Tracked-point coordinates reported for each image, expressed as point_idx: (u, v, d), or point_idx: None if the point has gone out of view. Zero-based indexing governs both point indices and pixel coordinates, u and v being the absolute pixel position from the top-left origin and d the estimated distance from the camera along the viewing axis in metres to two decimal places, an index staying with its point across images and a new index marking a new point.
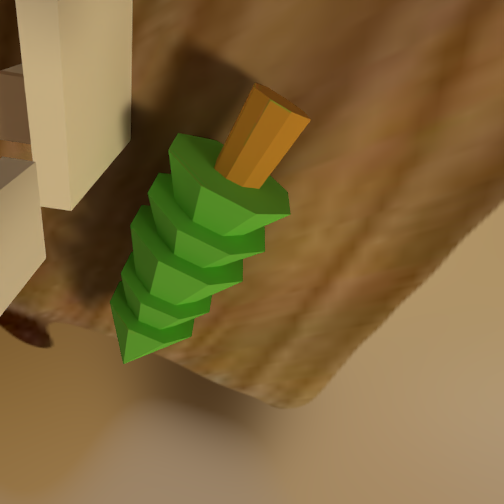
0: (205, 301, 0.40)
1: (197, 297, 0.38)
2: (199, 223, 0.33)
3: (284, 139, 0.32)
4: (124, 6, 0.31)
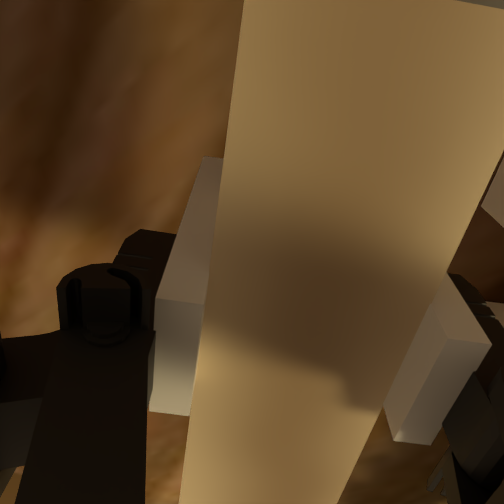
0: None
1: None
2: None
3: None
4: None
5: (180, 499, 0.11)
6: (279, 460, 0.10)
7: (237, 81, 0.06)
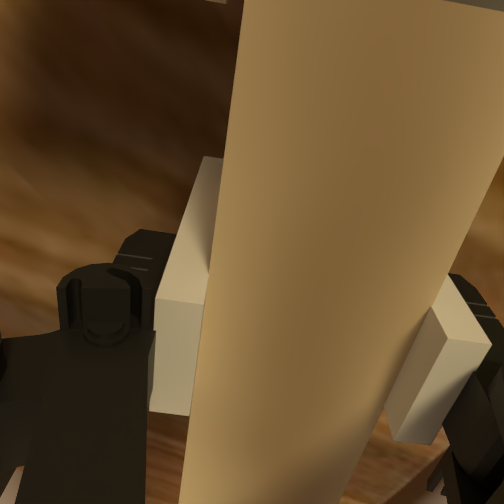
0: None
1: None
2: None
3: None
4: None
5: (180, 502, 0.11)
6: (280, 463, 0.10)
7: (237, 84, 0.06)
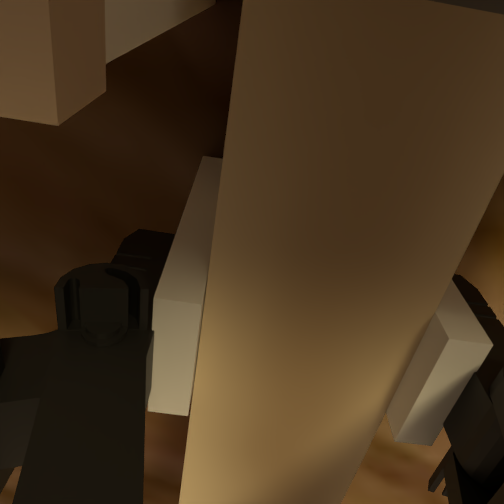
0: None
1: None
2: None
3: None
4: None
5: None
6: (279, 469, 0.10)
7: (235, 90, 0.06)
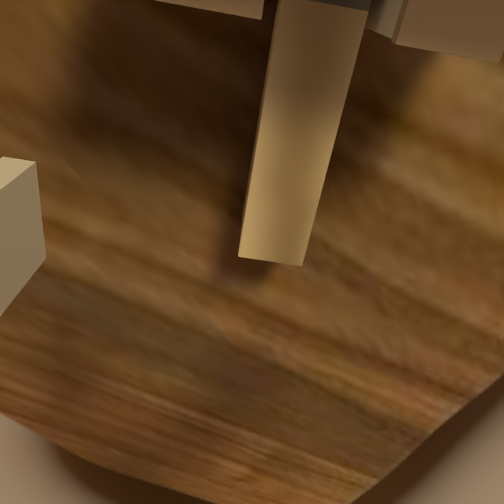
0: None
1: None
2: None
3: None
4: None
5: (244, 223, 0.26)
6: (287, 197, 0.25)
7: (277, 29, 0.20)
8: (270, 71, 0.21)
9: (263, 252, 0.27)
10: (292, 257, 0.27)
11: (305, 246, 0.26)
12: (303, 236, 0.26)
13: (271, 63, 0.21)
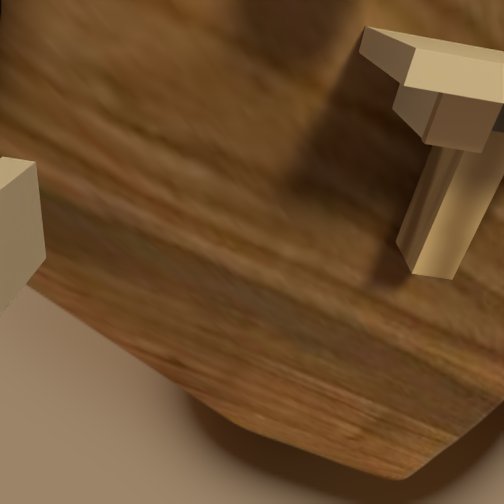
0: None
1: None
2: None
3: None
4: (487, 49, 0.35)
5: (420, 253, 0.40)
6: (452, 237, 0.39)
7: None
8: (458, 166, 0.36)
9: (429, 270, 0.41)
10: (447, 274, 0.41)
11: (457, 267, 0.41)
12: (457, 260, 0.41)
13: (459, 162, 0.36)
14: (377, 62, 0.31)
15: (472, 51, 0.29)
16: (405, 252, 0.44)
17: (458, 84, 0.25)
